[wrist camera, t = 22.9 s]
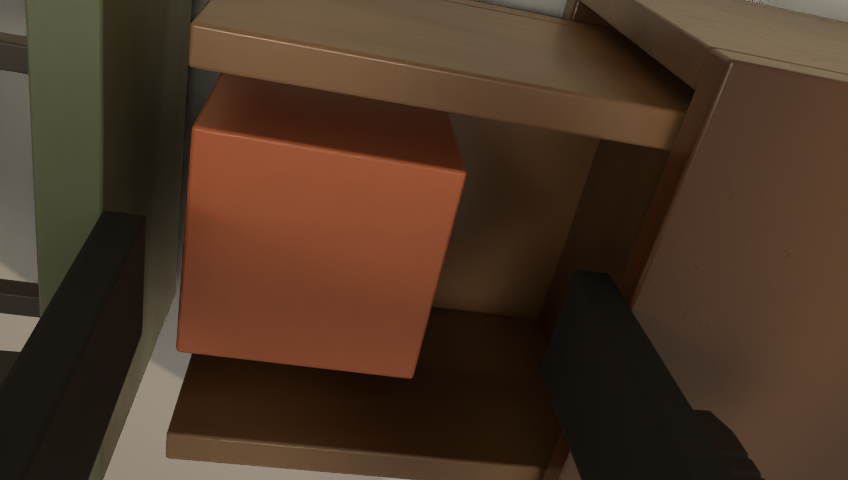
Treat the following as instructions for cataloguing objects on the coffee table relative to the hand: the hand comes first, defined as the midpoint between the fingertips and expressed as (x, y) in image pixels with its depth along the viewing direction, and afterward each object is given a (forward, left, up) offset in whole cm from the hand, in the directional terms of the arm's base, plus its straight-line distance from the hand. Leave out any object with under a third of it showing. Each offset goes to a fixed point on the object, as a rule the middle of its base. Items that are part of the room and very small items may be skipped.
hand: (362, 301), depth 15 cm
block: (-1, 0, -7) cm, 7 cm away
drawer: (-2, 0, -8) cm, 8 cm away
